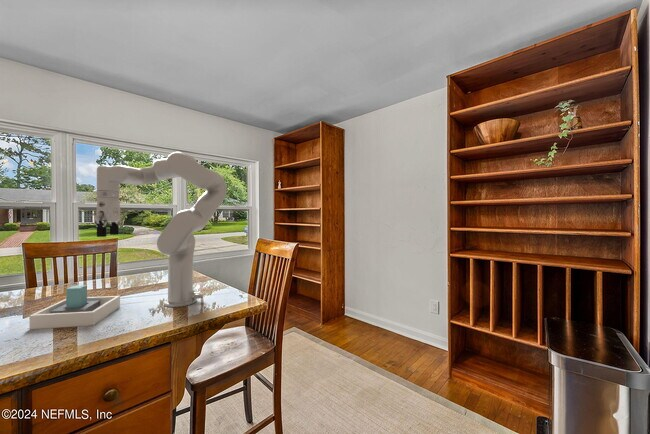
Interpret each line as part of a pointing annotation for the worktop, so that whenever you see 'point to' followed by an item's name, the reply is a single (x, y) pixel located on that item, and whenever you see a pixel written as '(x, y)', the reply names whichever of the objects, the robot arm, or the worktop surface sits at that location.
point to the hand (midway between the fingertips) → (108, 235)
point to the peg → (76, 296)
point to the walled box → (74, 313)
